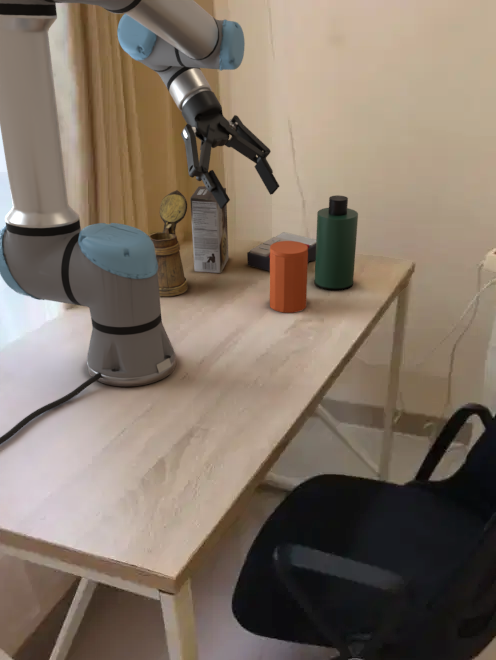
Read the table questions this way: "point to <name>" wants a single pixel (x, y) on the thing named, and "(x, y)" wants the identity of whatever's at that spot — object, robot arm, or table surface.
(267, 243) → the red and grey box
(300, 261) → the cap
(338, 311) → the table surface
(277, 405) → the table surface
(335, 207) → the flask
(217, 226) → the coffee box
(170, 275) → the wooden mug
